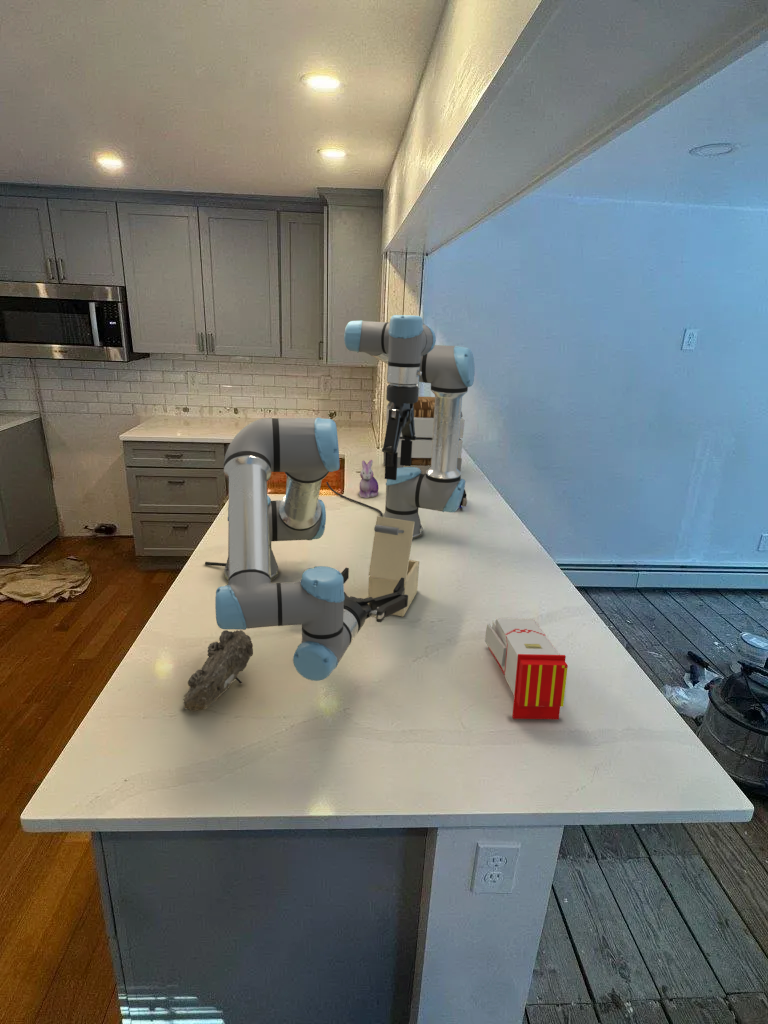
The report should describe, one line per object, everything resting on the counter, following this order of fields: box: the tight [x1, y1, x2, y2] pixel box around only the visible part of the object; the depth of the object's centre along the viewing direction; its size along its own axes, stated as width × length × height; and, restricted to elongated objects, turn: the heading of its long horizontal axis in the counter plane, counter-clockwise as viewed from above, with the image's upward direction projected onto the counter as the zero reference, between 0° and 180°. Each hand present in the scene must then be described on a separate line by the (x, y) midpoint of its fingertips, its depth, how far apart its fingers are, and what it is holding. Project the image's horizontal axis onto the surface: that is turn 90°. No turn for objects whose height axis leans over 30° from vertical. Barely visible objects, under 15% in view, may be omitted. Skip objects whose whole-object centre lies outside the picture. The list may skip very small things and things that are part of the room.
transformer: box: [383, 396, 465, 474], centre depth 268 cm, size 34×33×41 cm
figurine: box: [358, 459, 380, 499], centre depth 237 cm, size 9×10×15 cm
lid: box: [368, 515, 415, 582], centre depth 140 cm, size 15×10×9 cm
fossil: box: [182, 629, 254, 712], centre depth 117 cm, size 22×10×15 cm
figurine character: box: [458, 488, 468, 511], centre depth 230 cm, size 7×8×15 cm
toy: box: [484, 617, 569, 720], centre depth 122 cm, size 12×13×30 cm
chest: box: [367, 559, 420, 617], centre depth 153 cm, size 15×10×10 cm
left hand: (374, 577), depth 132 cm, fingers open, 13 cm apart
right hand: (398, 472), depth 140 cm, fingers open, 13 cm apart
